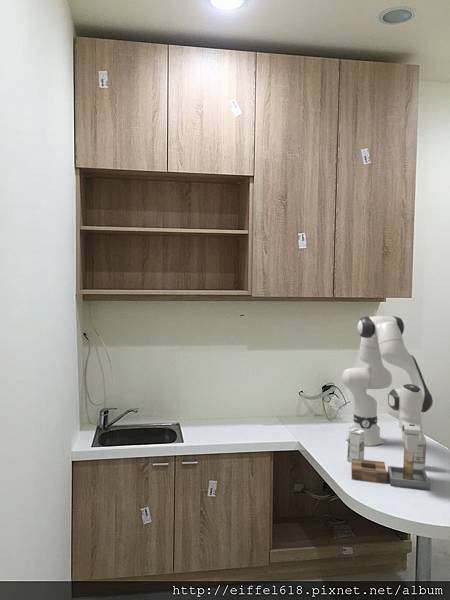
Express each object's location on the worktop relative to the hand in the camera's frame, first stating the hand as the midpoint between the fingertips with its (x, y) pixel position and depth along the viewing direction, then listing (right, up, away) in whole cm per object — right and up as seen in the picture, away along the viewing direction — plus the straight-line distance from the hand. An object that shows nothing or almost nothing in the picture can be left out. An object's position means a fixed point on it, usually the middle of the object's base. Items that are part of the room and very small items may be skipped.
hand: (408, 456), depth 210 cm
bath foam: (+10, -10, +17) cm, 22 cm away
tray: (0, -10, 0) cm, 10 cm away
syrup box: (-16, -9, +23) cm, 29 cm away
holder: (-15, -10, +6) cm, 19 cm away
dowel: (0, -9, 0) cm, 9 cm away
